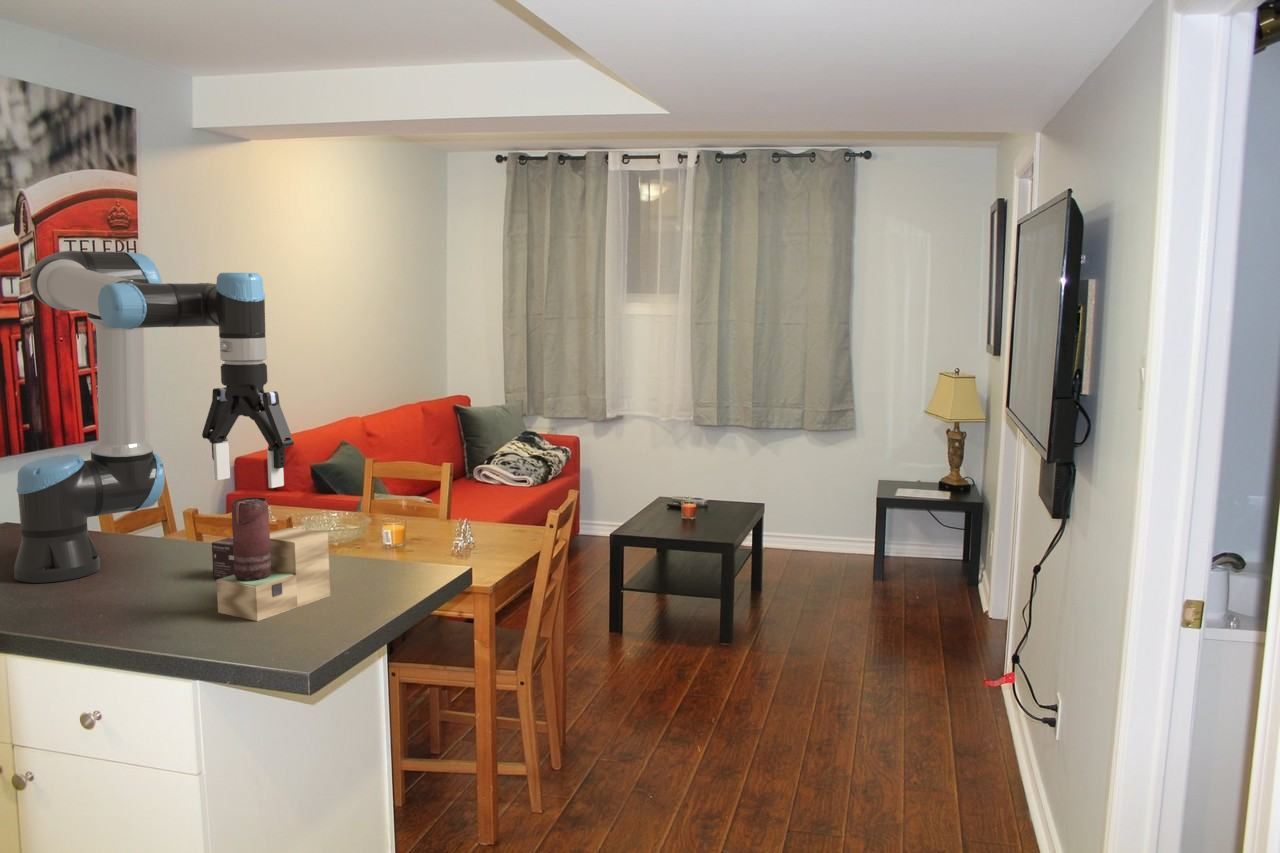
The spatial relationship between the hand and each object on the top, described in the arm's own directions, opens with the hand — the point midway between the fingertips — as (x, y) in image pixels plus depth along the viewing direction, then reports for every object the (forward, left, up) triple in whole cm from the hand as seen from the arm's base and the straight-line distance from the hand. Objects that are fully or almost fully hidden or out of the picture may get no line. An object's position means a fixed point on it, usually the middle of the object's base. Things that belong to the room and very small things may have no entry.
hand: (249, 483), depth 181 cm
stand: (0, +5, -23) cm, 24 cm away
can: (0, 0, -17) cm, 17 cm away
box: (-22, +14, -24) cm, 35 cm away
